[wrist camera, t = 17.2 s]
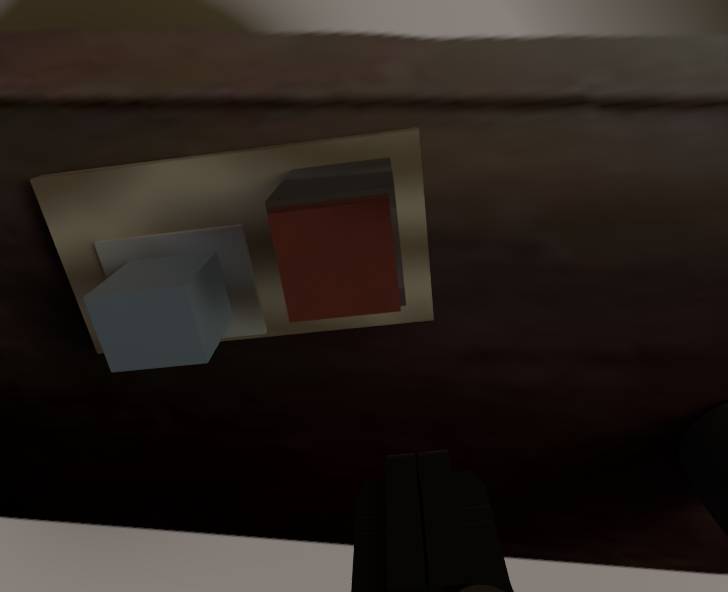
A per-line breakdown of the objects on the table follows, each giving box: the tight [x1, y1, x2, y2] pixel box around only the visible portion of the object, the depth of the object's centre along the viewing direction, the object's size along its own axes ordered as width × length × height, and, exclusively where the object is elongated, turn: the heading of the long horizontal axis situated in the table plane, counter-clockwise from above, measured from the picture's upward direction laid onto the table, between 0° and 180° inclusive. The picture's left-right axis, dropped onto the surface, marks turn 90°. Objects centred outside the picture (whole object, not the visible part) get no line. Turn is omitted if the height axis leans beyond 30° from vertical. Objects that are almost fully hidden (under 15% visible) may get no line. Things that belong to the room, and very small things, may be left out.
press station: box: [30, 127, 434, 354], centre depth 31 cm, size 13×25×10 cm, turn 97°
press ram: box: [267, 194, 401, 323], centre depth 27 cm, size 6×6×7 cm
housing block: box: [83, 251, 233, 372], centre depth 32 cm, size 5×6×6 cm
